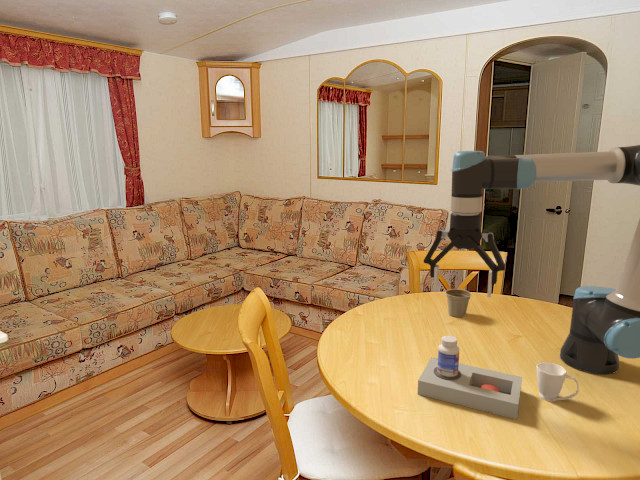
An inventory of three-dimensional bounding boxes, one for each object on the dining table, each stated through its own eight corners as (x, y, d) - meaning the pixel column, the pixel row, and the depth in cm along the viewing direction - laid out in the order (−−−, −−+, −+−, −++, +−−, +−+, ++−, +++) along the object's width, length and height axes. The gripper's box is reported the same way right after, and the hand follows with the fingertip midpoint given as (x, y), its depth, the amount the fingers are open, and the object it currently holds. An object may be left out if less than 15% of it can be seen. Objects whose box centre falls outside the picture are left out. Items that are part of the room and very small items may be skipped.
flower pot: (439, 311, 173) (440, 290, 171) (460, 308, 176) (461, 287, 174) (453, 320, 165) (454, 298, 163) (475, 317, 167) (476, 295, 165)
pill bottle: (458, 378, 117) (461, 344, 115) (437, 376, 118) (439, 342, 116) (457, 368, 122) (459, 335, 120) (436, 366, 123) (438, 333, 121)
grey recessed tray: (520, 390, 119) (522, 375, 118) (516, 419, 107) (518, 403, 106) (430, 369, 130) (431, 356, 129) (417, 394, 118) (418, 379, 117)
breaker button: (499, 392, 117) (500, 386, 117) (497, 401, 113) (498, 395, 113) (481, 388, 119) (482, 382, 119) (479, 397, 115) (480, 391, 115)
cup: (534, 386, 121) (537, 359, 119) (576, 396, 117) (580, 368, 115) (532, 399, 115) (535, 371, 113) (576, 410, 111) (580, 381, 109)
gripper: (520, 212, 112) (513, 293, 117) (420, 208, 123) (418, 282, 128) (518, 217, 106) (512, 303, 110) (413, 212, 116) (411, 290, 121)
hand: (462, 292), depth 119 cm, fingers open, 13 cm apart
